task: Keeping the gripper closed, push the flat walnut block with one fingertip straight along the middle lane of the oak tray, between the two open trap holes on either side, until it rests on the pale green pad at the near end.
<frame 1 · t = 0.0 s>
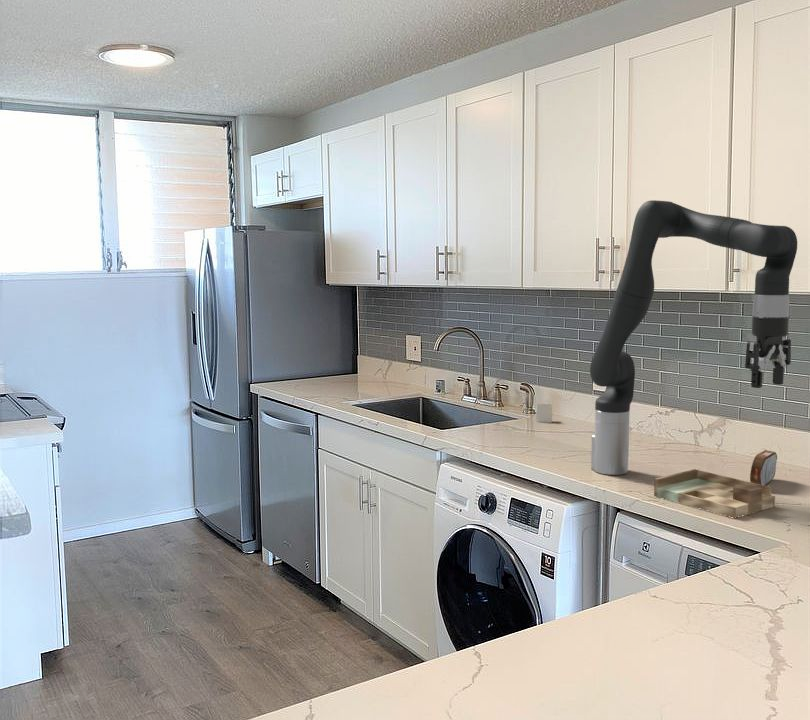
hand: (767, 385, 186), 29 cm above the worktop, tool pointing down, fingers open, 8 cm apart
block: (747, 500, 189), point 2 cm above the worktop, touching tray
tray: (712, 501, 197), on the worktop
tin: (763, 484, 212), on the worktop
grey square slab: (544, 423, 298), on the worktop
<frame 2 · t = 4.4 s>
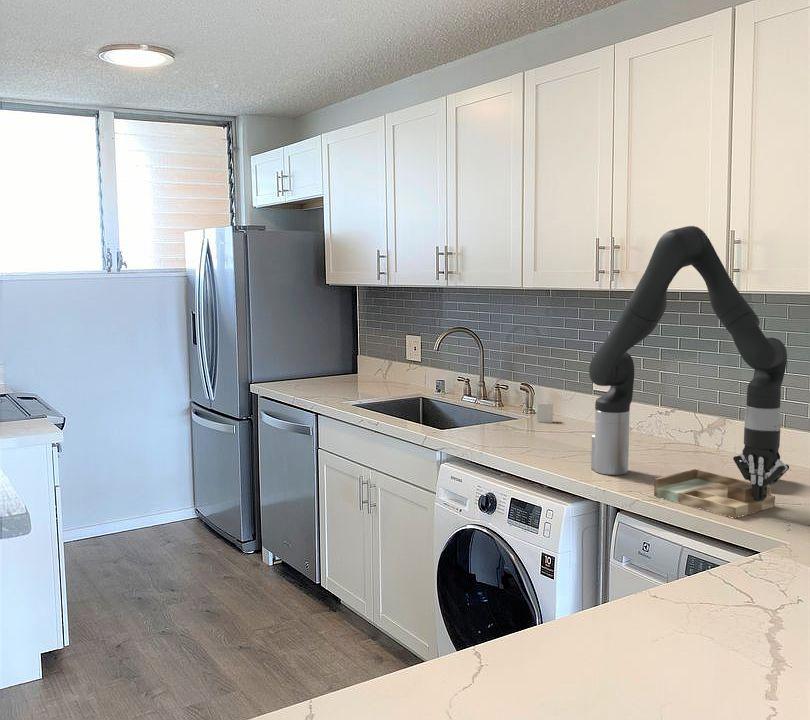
hand: (758, 500, 187), 3 cm above the worktop, tool pointing down, fingers closed
block: (741, 498, 190), point 3 cm above the worktop, touching gripper
everything else where it was.
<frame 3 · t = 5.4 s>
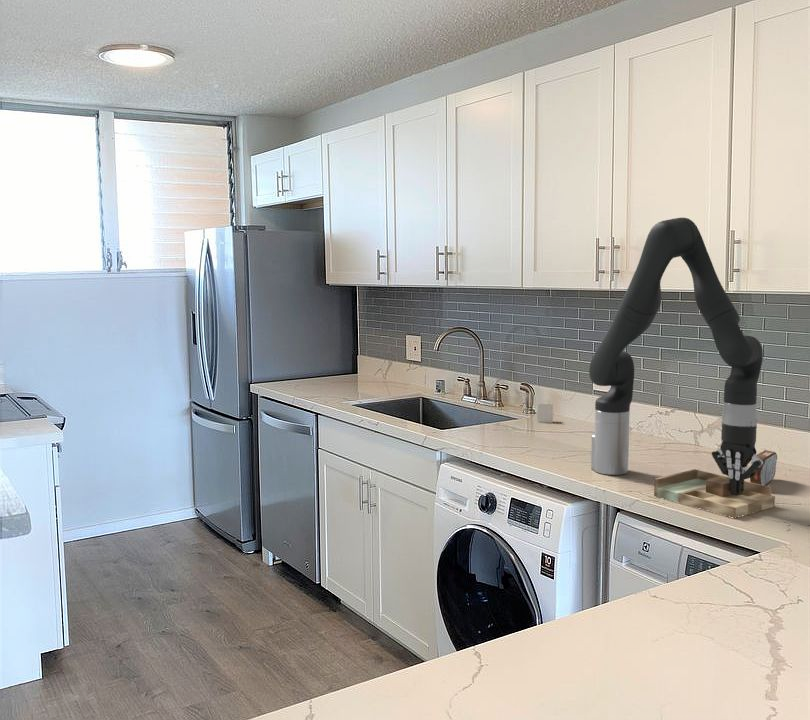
hand: (736, 494, 191), 3 cm above the worktop, tool pointing down, fingers closed
block: (719, 492, 195), point 3 cm above the worktop, touching gripper
everything else where it was.
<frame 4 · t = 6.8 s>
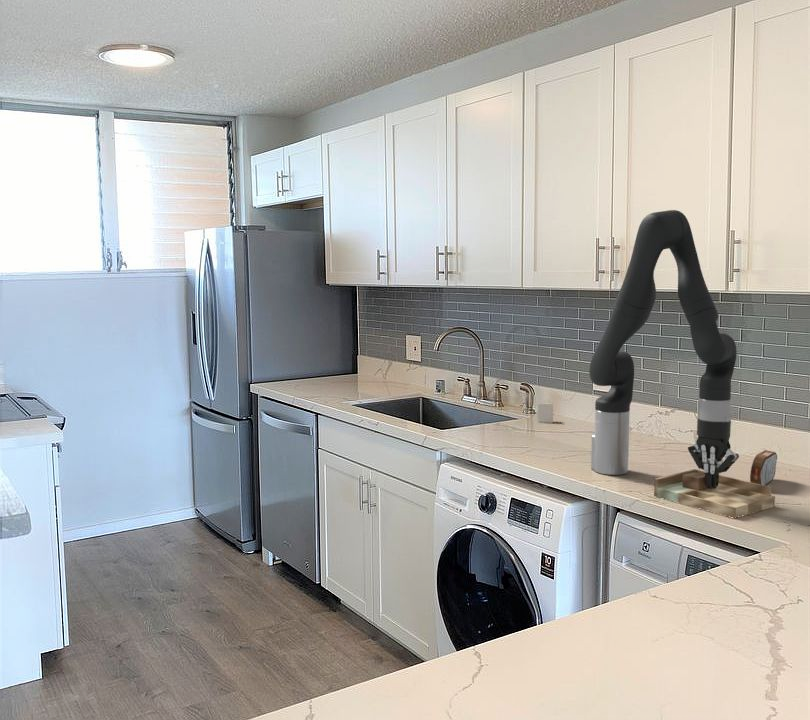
hand: (711, 488, 197), 3 cm above the worktop, tool pointing down, fingers closed
block: (696, 487, 200), point 2 cm above the worktop, touching gripper, tray
everything else where it was.
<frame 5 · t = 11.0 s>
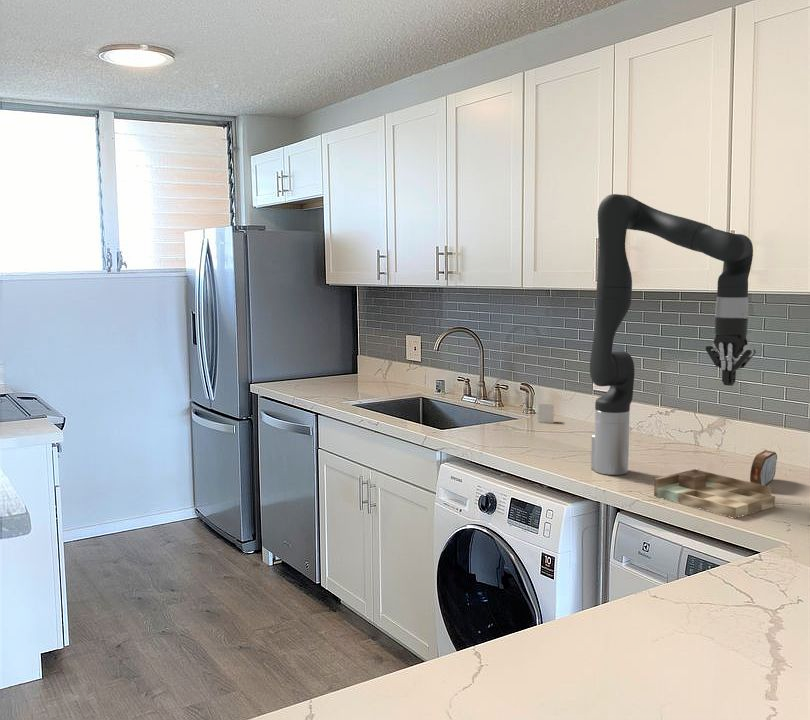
hand: (728, 385, 203), 27 cm above the worktop, tool pointing down, fingers closed
block: (692, 486, 201), point 2 cm above the worktop, touching tray
everything else where it was.
at the end: block 1.0 cm from the target spot on the tray, point 2.5 cm above the tray's base; block tilted 1° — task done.
